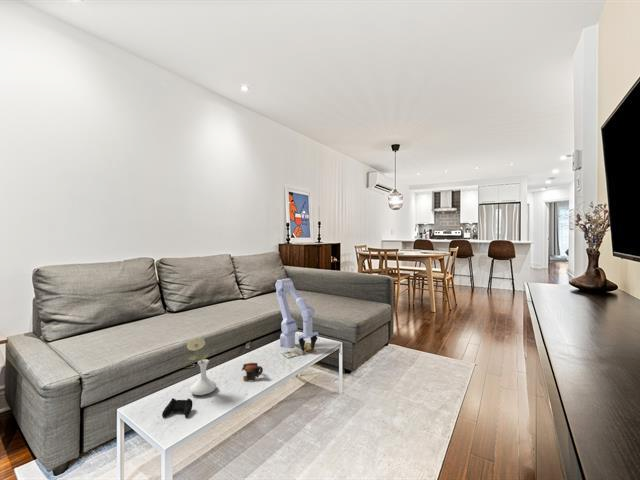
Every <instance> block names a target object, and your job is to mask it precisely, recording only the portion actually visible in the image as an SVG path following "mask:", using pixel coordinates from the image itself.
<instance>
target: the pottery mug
mask: <svg viewBox="0 0 640 480" xmlns="http://www.w3.org/2000/svg"><path fill="white" fill-rule="evenodd" d="M241 371H242V372H243V371H244V372H245V374H246V375H242V376H243V381H244V382H245V381H246V382H247V381H256V378H259V377H260V376H261V375H262V374H263V371H264V369H263V366H260V365H259V366H258V362H247V363H243V364H242V368H241Z"/></svg>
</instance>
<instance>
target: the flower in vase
mask: <svg viewBox="0 0 640 480" xmlns="http://www.w3.org/2000/svg"><path fill="white" fill-rule="evenodd" d="M205 344H206V341H205V339H204V338H201V337H195V338H192V339H190V341H188V342H187V344H186V348H187V350H189V351H193V352H195V351H196V355H191V356H190V357H188V359H187V360H188V361H189V360H190V361H191V360H192V361H194V360H197V359H199V360H197V364H198V365H199V369H200V378H199V379H197V381H195V382H194V383H193V384H192V385H191V387H190V389H189V392H190V393H191V394H192V395H196V396H204V395H208V394H210V393H212V392H213V391H215V390H216V388H217V383H216V382H215V380H213V379H210V377H208V376H207V366H208V364H209V363H210V360H209V359H207V358H208V356H209V354H210V352H207V353H205V354H203V355H202V356H201V358H200V356H199V353H198V350H201V349H203V348H204V346H205Z"/></svg>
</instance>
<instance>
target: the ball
mask: <svg viewBox="0 0 640 480" xmlns="http://www.w3.org/2000/svg"><path fill="white" fill-rule="evenodd" d="M304 348H305V350H306V351H309V350H310V349H311V344H309V343H307V344H306V343H305V345H304Z"/></svg>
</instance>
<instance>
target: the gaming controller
mask: <svg viewBox="0 0 640 480" xmlns="http://www.w3.org/2000/svg"><path fill="white" fill-rule="evenodd" d="M192 409H193V400H192V399H191V398H187V399H176V398H171V400H170V401H169V403H168V404H167V405H166V406H165V407H164V409H163V411H162V413H161V418H167V417H168V416H169V415H170V414H171V413H172V412H174V413H176V412H179V413H181V412H182V413H184V417H185V418H188V417H189V416H190V414H191V412H192Z"/></svg>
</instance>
